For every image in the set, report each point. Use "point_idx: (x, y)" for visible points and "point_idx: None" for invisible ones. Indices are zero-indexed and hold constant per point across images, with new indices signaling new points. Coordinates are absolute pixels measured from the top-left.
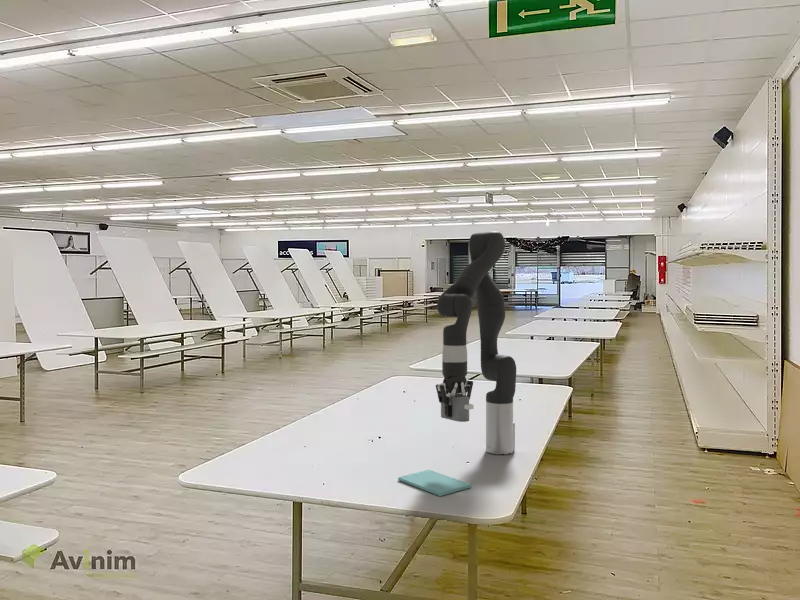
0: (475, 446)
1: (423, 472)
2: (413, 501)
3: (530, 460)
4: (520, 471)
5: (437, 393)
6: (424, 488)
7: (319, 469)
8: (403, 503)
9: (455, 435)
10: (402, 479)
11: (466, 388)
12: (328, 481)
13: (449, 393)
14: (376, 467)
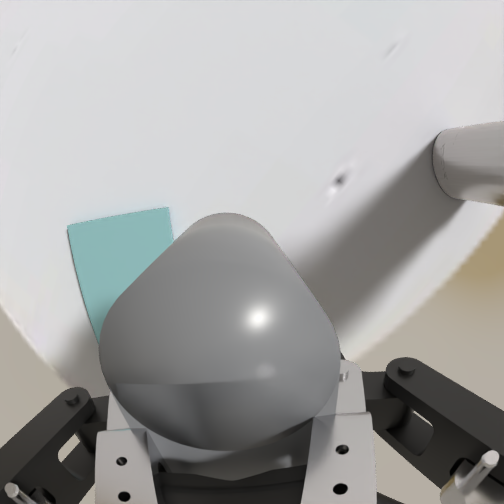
0: (437, 89)
1: (137, 223)
2: (61, 348)
3: (452, 266)
4: (380, 323)
5: (10, 442)
6: (92, 322)
7: (8, 73)
8: (46, 344)
9: (435, 8)
10: (70, 243)
11: (449, 461)
12: None
13: (287, 342)
14: (85, 92)
